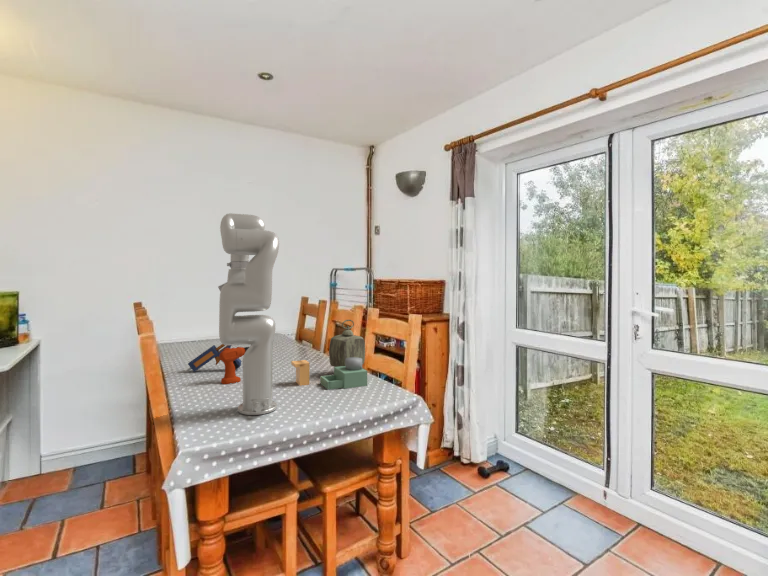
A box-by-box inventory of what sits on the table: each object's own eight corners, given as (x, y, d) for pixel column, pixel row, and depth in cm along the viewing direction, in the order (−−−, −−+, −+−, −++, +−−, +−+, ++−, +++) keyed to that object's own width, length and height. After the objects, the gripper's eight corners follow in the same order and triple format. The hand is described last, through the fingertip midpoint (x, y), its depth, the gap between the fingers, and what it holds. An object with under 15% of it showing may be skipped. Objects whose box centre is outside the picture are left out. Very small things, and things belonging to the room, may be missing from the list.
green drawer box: (367, 385, 163) (367, 361, 163) (329, 390, 156) (329, 365, 156) (355, 378, 174) (356, 355, 174) (319, 382, 167) (319, 358, 166)
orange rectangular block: (309, 384, 164) (309, 362, 163) (294, 386, 161) (294, 364, 161) (305, 381, 169) (305, 360, 169) (291, 382, 166) (291, 361, 166)
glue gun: (203, 392, 185) (182, 367, 182) (259, 351, 191) (240, 326, 189) (201, 395, 179) (179, 369, 177) (259, 353, 185) (239, 327, 183)
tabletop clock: (353, 370, 188) (353, 317, 187) (366, 374, 182) (367, 319, 181) (328, 376, 178) (329, 320, 177) (342, 380, 171) (342, 322, 170)
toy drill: (267, 374, 174) (263, 340, 172) (223, 387, 162) (218, 351, 160) (263, 372, 177) (259, 339, 175) (219, 384, 165) (215, 349, 164)
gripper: (219, 265, 165) (219, 306, 166) (262, 266, 173) (262, 305, 174) (217, 265, 171) (217, 305, 172) (258, 266, 179) (258, 304, 180)
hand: (239, 305), depth 173 cm, fingers open, 9 cm apart
